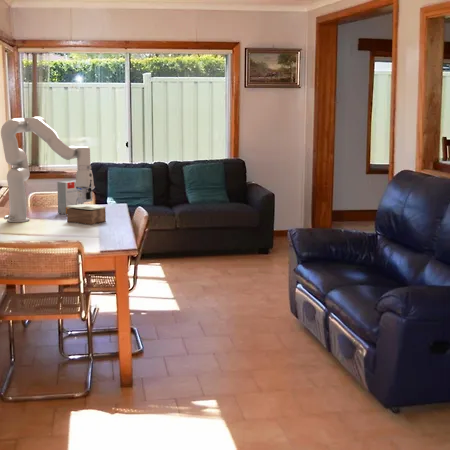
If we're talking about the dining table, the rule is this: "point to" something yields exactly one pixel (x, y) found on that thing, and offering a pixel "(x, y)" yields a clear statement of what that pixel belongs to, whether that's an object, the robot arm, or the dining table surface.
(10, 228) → the dining table surface
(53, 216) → the dining table surface
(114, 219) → the dining table surface
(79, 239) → the dining table surface
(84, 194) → the medicine box
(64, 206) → the hard drive box
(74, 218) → the wooden box
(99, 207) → the lid
